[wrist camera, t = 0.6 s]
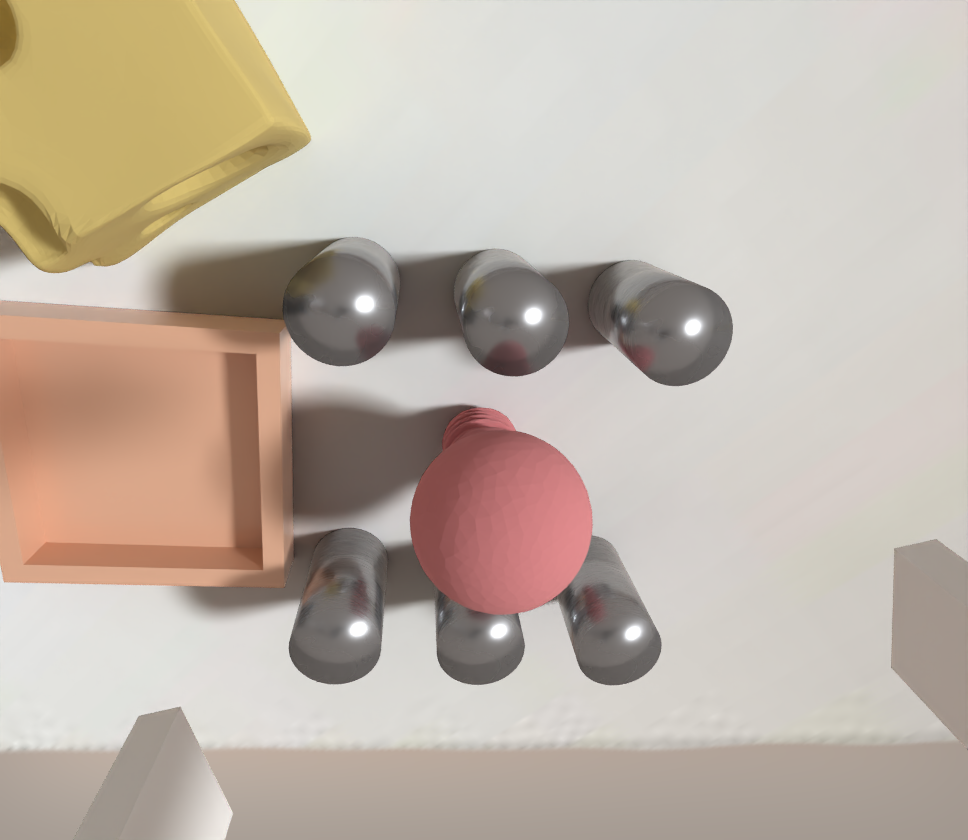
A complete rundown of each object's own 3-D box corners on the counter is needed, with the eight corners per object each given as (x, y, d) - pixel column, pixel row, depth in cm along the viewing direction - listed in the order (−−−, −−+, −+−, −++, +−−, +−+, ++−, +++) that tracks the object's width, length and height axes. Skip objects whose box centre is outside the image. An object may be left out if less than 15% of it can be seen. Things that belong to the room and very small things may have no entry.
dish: (33, 552, 34) (4, 582, 31) (-11, 299, 29) (-50, 311, 27) (293, 559, 35) (284, 588, 33) (290, 319, 31) (279, 333, 28)
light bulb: (543, 500, 35) (601, 654, 24) (410, 499, 35) (406, 657, 23) (556, 374, 33) (627, 480, 22) (413, 369, 32) (410, 477, 21)
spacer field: (312, 590, 36) (289, 683, 29) (312, 233, 29) (281, 252, 23) (612, 596, 38) (652, 685, 31) (675, 263, 31) (743, 288, 25)
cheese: (130, 261, 29) (-5, 304, 20) (-54, 11, 25) (-328, -80, 16) (331, 142, 28) (288, 130, 19) (171, -136, 24) (19, -324, 15)
